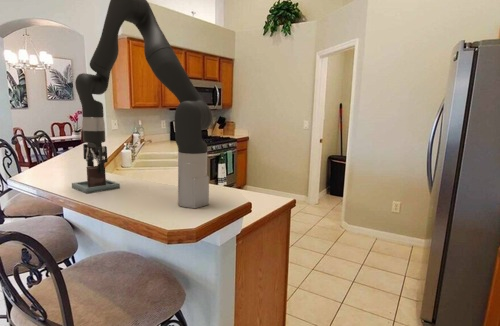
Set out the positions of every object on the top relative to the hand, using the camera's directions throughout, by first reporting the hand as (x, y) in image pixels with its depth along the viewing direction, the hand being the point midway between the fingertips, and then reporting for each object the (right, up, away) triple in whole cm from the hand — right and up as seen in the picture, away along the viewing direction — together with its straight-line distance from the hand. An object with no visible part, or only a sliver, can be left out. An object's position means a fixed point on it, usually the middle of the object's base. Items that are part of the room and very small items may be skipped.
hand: (95, 172), depth 119 cm
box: (0, -5, +1) cm, 6 cm away
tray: (0, -6, +1) cm, 6 cm away
